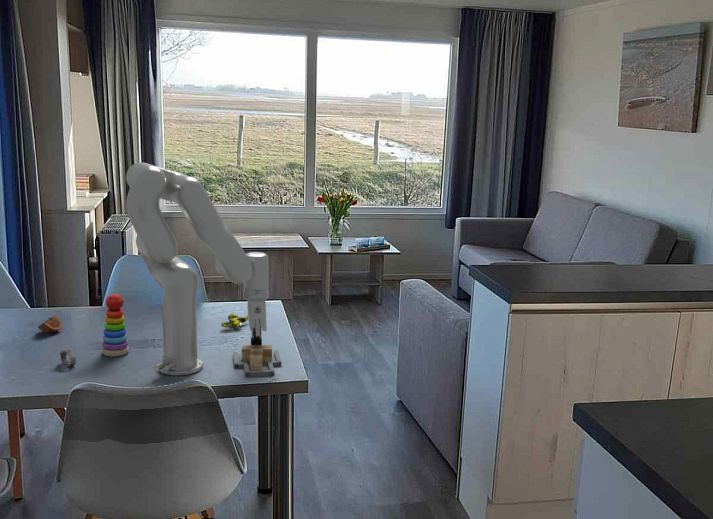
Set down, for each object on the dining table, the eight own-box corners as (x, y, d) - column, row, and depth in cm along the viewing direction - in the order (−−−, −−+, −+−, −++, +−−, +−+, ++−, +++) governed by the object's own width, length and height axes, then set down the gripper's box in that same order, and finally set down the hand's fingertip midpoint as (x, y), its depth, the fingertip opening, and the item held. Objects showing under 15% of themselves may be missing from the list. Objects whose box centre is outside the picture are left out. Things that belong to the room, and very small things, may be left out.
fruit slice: (53, 337, 224) (52, 322, 222) (33, 336, 224) (32, 321, 223) (65, 329, 232) (65, 314, 231) (46, 328, 232) (45, 313, 231)
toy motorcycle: (229, 310, 245) (249, 312, 245) (229, 320, 246) (248, 322, 246) (219, 320, 234) (240, 322, 233) (219, 331, 235) (239, 333, 234)
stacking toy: (100, 358, 207) (97, 298, 202) (103, 349, 214) (100, 291, 210) (128, 356, 209) (126, 297, 205) (129, 347, 216) (127, 290, 212)
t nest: (233, 356, 212) (233, 352, 212) (278, 354, 215) (278, 350, 214) (235, 377, 196) (235, 373, 195) (284, 374, 198) (284, 370, 198)
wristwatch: (68, 360, 204) (67, 344, 203) (79, 366, 200) (78, 350, 199) (57, 364, 201) (56, 347, 200) (68, 369, 197) (67, 353, 196)
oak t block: (242, 357, 211) (242, 345, 210) (272, 357, 212) (272, 345, 211) (240, 370, 201) (240, 357, 200) (271, 370, 202) (271, 357, 201)
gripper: (271, 299, 203) (271, 358, 207) (266, 286, 217) (266, 341, 221) (245, 300, 201) (245, 359, 205) (242, 287, 215) (242, 342, 219)
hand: (256, 350), depth 213 cm, fingers closed
